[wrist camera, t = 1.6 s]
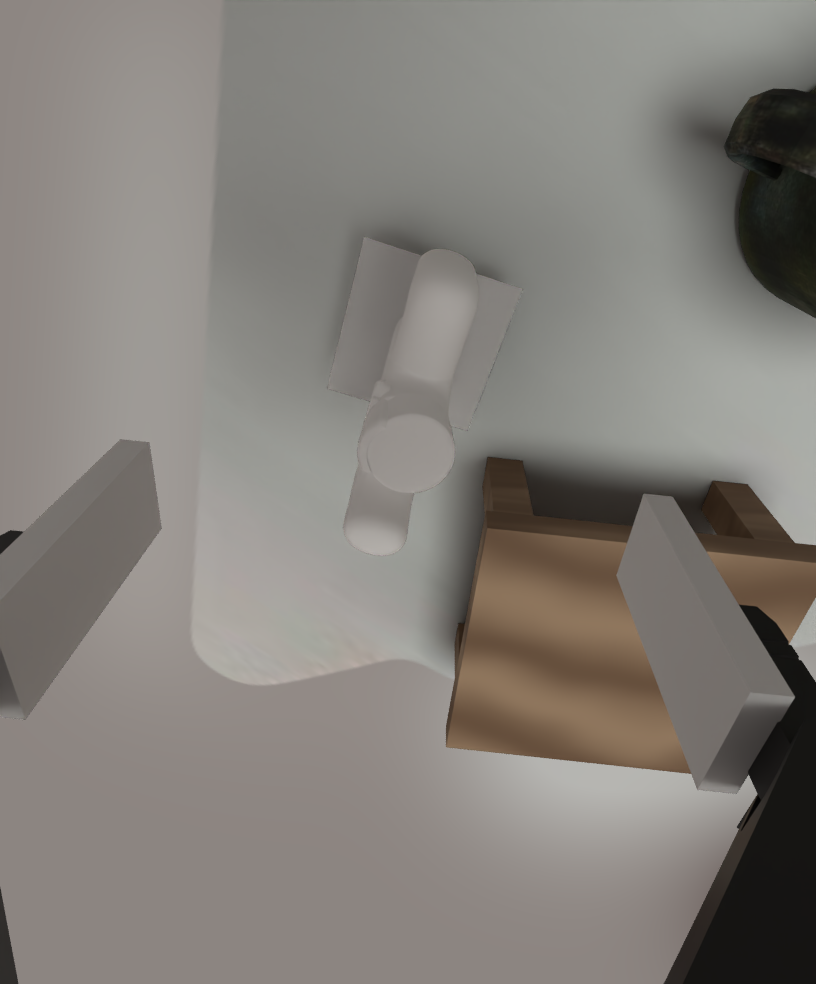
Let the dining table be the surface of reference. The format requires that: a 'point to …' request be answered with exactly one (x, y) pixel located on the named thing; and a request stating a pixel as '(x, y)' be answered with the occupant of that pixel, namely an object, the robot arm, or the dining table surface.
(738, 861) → the robot arm
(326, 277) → the dining table surface
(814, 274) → the mug
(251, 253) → the dining table surface
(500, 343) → the figurine
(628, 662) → the walnut stool
